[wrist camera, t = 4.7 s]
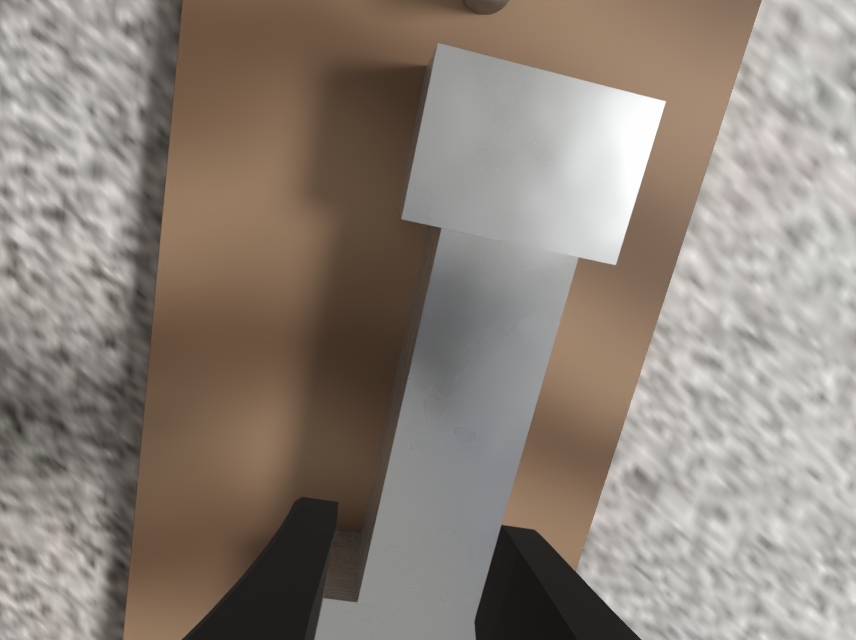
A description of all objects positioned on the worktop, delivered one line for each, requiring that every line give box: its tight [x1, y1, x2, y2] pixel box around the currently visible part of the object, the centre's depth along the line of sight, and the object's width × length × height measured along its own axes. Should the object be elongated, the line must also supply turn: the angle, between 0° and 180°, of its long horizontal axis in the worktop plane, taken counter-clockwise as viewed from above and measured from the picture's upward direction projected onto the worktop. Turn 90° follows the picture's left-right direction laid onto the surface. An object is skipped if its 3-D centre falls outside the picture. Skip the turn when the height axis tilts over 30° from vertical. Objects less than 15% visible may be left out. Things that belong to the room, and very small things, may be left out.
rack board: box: [123, 0, 762, 640], centre depth 16 cm, size 26×14×4 cm, turn 168°
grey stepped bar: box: [314, 43, 666, 640], centre depth 16 cm, size 17×5×3 cm, turn 168°
